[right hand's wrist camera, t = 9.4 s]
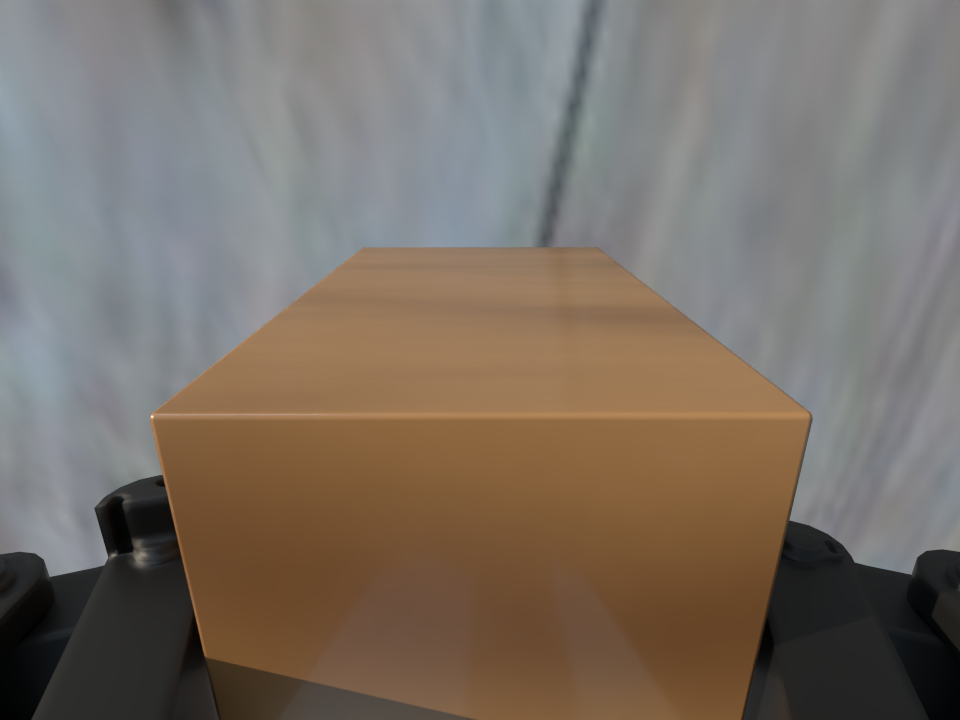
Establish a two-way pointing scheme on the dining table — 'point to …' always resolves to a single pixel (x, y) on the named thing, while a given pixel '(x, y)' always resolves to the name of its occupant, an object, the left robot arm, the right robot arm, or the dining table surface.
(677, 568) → the bar
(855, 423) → the dining table surface
